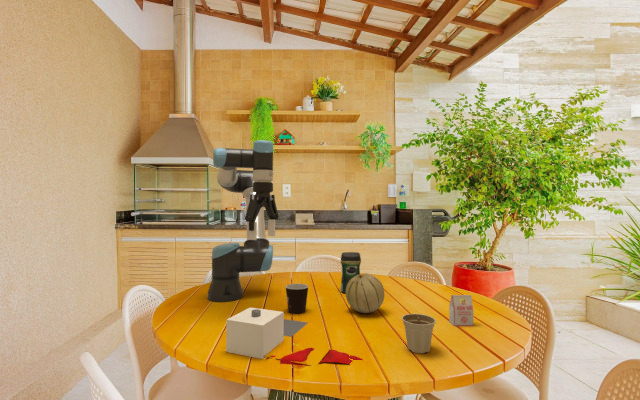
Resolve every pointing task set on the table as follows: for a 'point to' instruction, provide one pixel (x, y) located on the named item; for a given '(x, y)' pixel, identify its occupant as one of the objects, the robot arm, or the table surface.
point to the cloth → (329, 357)
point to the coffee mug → (296, 298)
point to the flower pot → (418, 332)
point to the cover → (254, 332)
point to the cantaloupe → (365, 293)
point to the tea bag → (461, 310)
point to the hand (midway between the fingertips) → (262, 237)
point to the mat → (292, 327)
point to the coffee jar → (349, 267)
